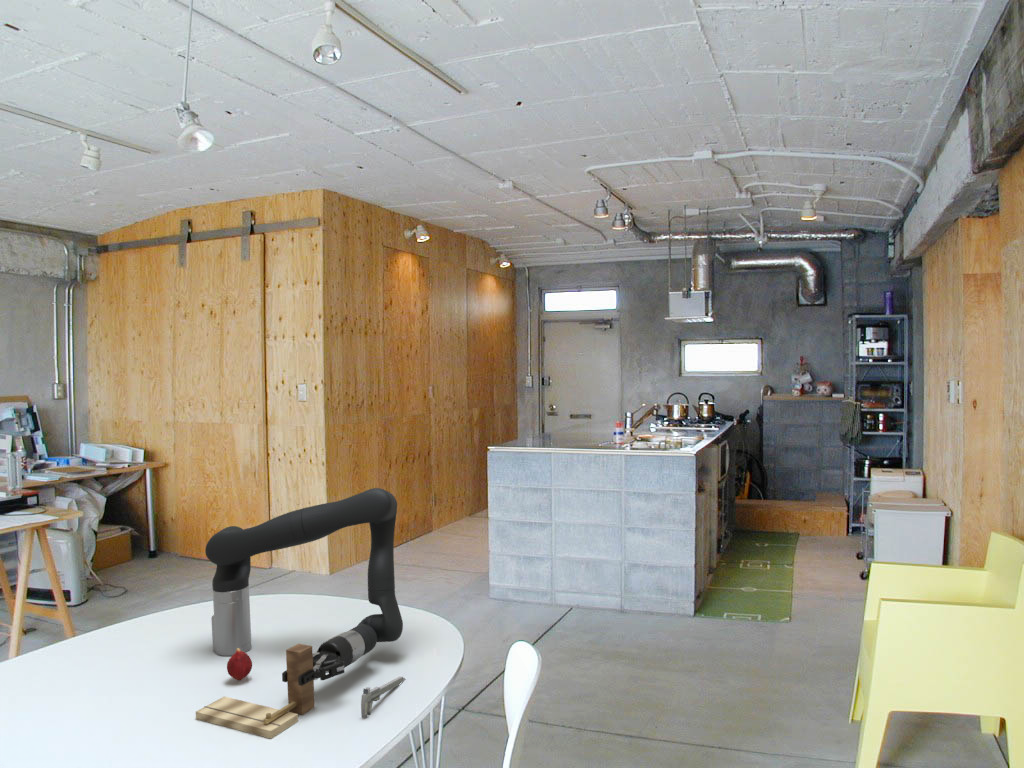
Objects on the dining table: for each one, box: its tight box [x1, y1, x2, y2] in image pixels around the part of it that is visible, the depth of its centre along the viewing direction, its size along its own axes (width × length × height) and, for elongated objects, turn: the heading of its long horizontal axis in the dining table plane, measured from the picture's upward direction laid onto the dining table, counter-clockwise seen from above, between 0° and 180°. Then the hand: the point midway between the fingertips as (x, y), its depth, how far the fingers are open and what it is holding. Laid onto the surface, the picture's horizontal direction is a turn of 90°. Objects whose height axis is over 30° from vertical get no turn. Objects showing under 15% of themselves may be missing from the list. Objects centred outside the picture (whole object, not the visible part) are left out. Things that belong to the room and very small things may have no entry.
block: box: [263, 643, 316, 724], centre depth 164 cm, size 4×13×14 cm, turn 154°
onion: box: [226, 648, 253, 682], centre depth 184 cm, size 6×6×8 cm
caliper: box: [360, 676, 406, 719], centre depth 173 cm, size 20×1×6 cm, turn 163°
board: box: [195, 696, 299, 739], centre depth 164 cm, size 22×8×2 cm, turn 64°
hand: (291, 679), depth 165 cm, fingers closed on block, 4 cm apart
